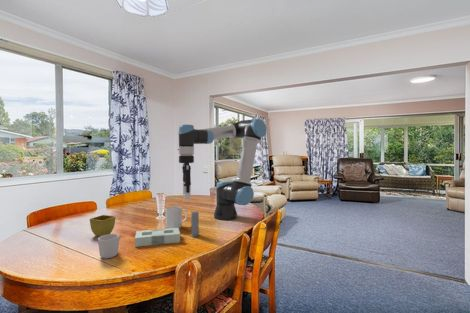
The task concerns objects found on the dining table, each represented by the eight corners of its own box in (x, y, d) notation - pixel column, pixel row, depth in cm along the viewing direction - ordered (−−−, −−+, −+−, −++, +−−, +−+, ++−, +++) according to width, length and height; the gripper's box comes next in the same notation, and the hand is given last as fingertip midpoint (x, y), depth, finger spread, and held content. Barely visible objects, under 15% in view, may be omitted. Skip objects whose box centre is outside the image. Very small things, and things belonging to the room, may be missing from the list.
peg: (197, 234, 131) (197, 211, 131) (198, 236, 128) (198, 212, 127) (191, 235, 130) (191, 211, 130) (192, 237, 127) (192, 213, 127)
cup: (106, 249, 111) (105, 231, 110) (124, 249, 111) (124, 231, 111) (94, 260, 100) (94, 240, 100) (115, 259, 101) (115, 240, 100)
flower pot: (116, 233, 133) (116, 216, 132) (102, 238, 124) (102, 220, 124) (103, 231, 136) (103, 214, 135) (89, 236, 127) (88, 218, 127)
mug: (167, 231, 136) (167, 210, 136) (164, 226, 144) (164, 207, 144) (189, 228, 141) (189, 208, 141) (184, 223, 149) (184, 205, 149)
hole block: (178, 235, 129) (178, 227, 129) (180, 242, 120) (180, 233, 120) (136, 239, 124) (136, 231, 123) (134, 246, 114) (134, 238, 114)
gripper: (177, 154, 140) (178, 192, 141) (180, 155, 116) (180, 201, 117) (191, 154, 142) (191, 192, 143) (196, 155, 118) (196, 200, 119)
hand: (186, 196), depth 130 cm, fingers open, 13 cm apart
